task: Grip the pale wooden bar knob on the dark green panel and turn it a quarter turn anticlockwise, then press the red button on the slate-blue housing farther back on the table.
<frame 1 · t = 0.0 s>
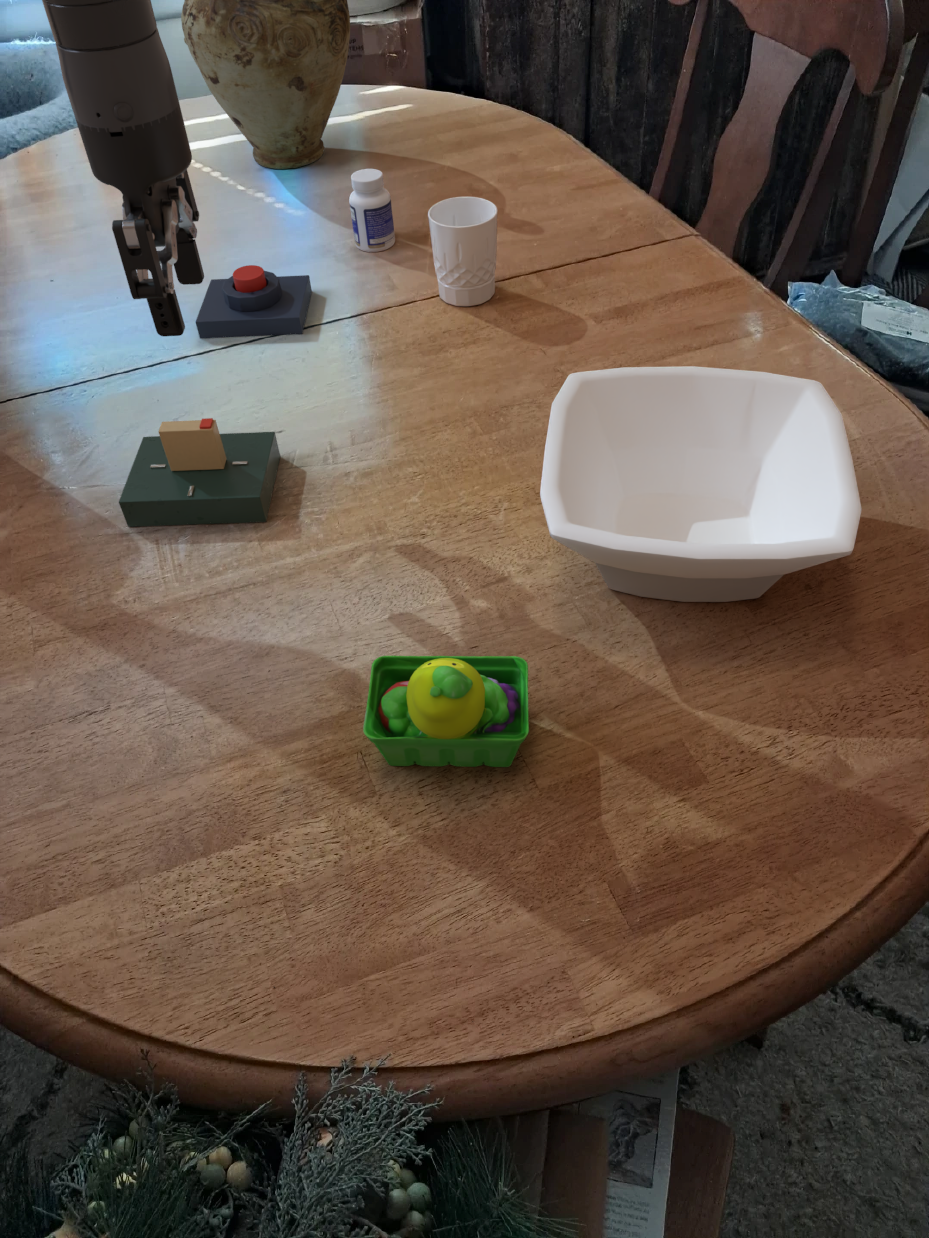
hand: (182, 307, 84), 18 cm above the table, tool pointing down, fingers open, 8 cm apart
vase: (290, 158, 151), on the table
button box: (257, 314, 118), on the table
panel: (206, 490, 95), on the table
knob: (192, 444, 91), point 5 cm above the table, hinge at 0.0°
white cup: (466, 294, 119), on the table
bowl: (681, 546, 87), on the table
pill bottle: (375, 245, 129), on the table
button: (249, 279, 115), point 4 cm above the table, slide at 0.1 cm
fruit basket: (451, 746, 73), on the table
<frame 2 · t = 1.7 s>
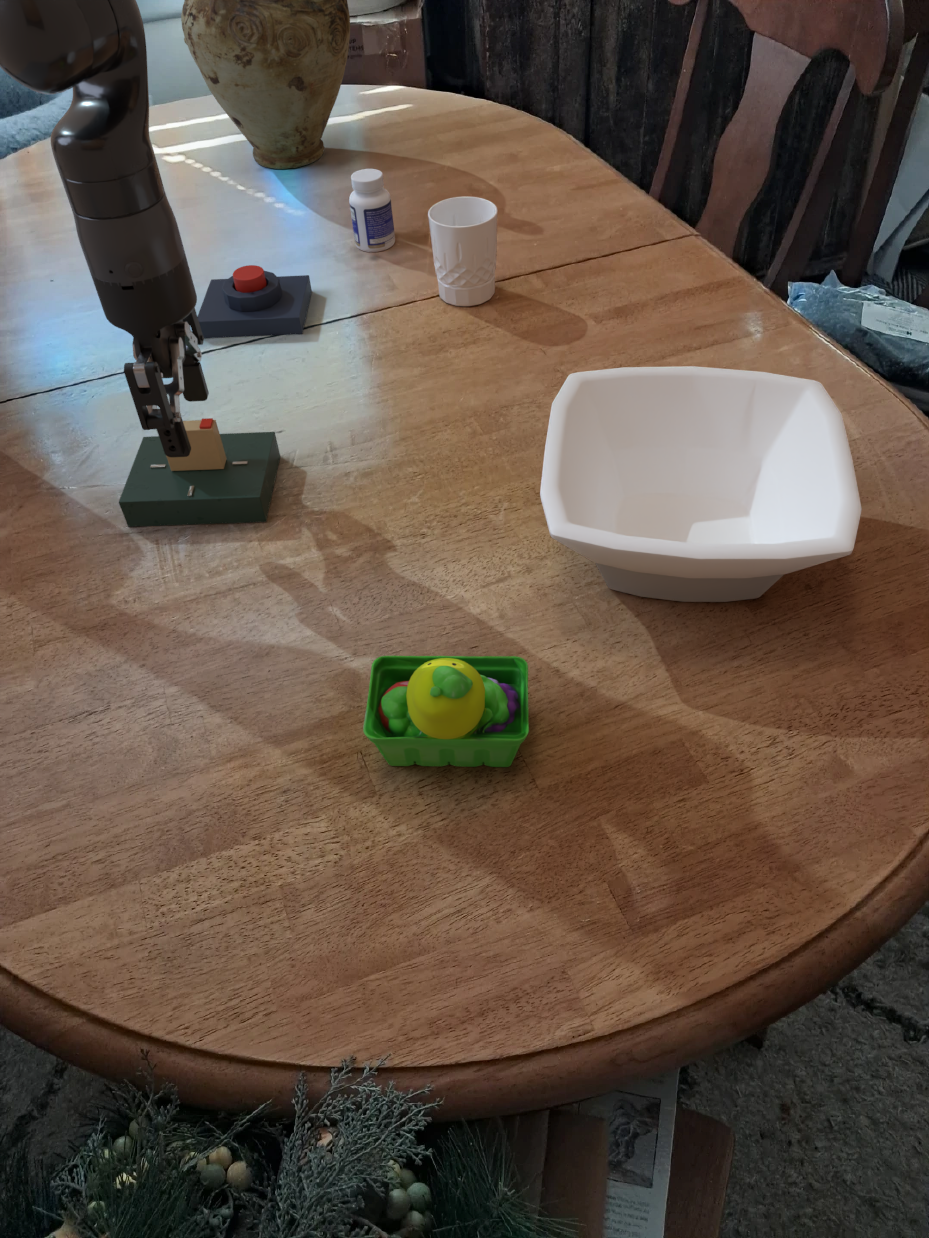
hand: (188, 426, 90), 7 cm above the table, tool pointing down, fingers open, 8 cm apart
nothing on the table moved.
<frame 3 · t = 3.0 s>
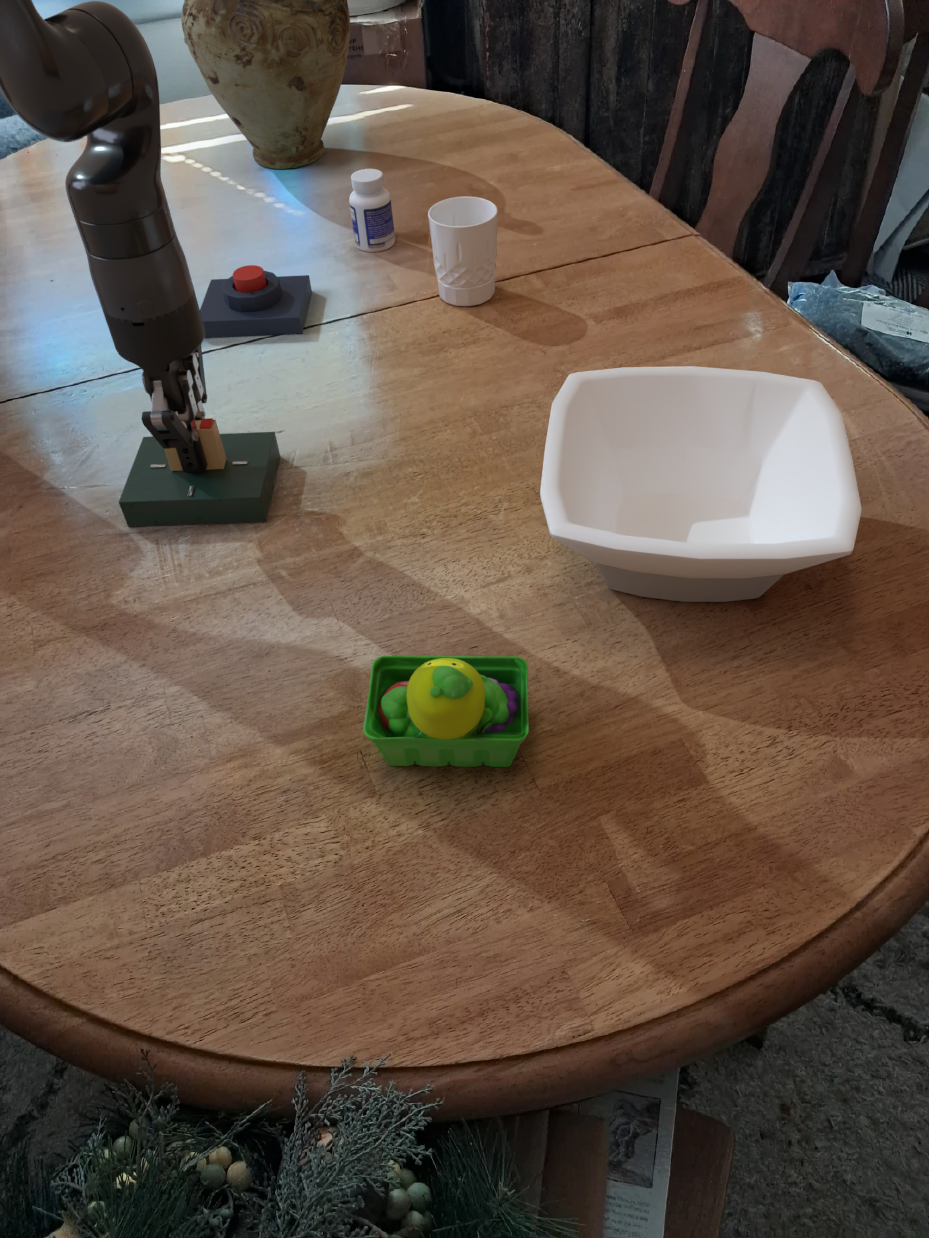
hand: (198, 462, 93), 3 cm above the table, tool pointing down, fingers closed on knob
knob: (192, 444, 91), point 5 cm above the table, hinge at 0.0°, touching gripper
everything else where it was.
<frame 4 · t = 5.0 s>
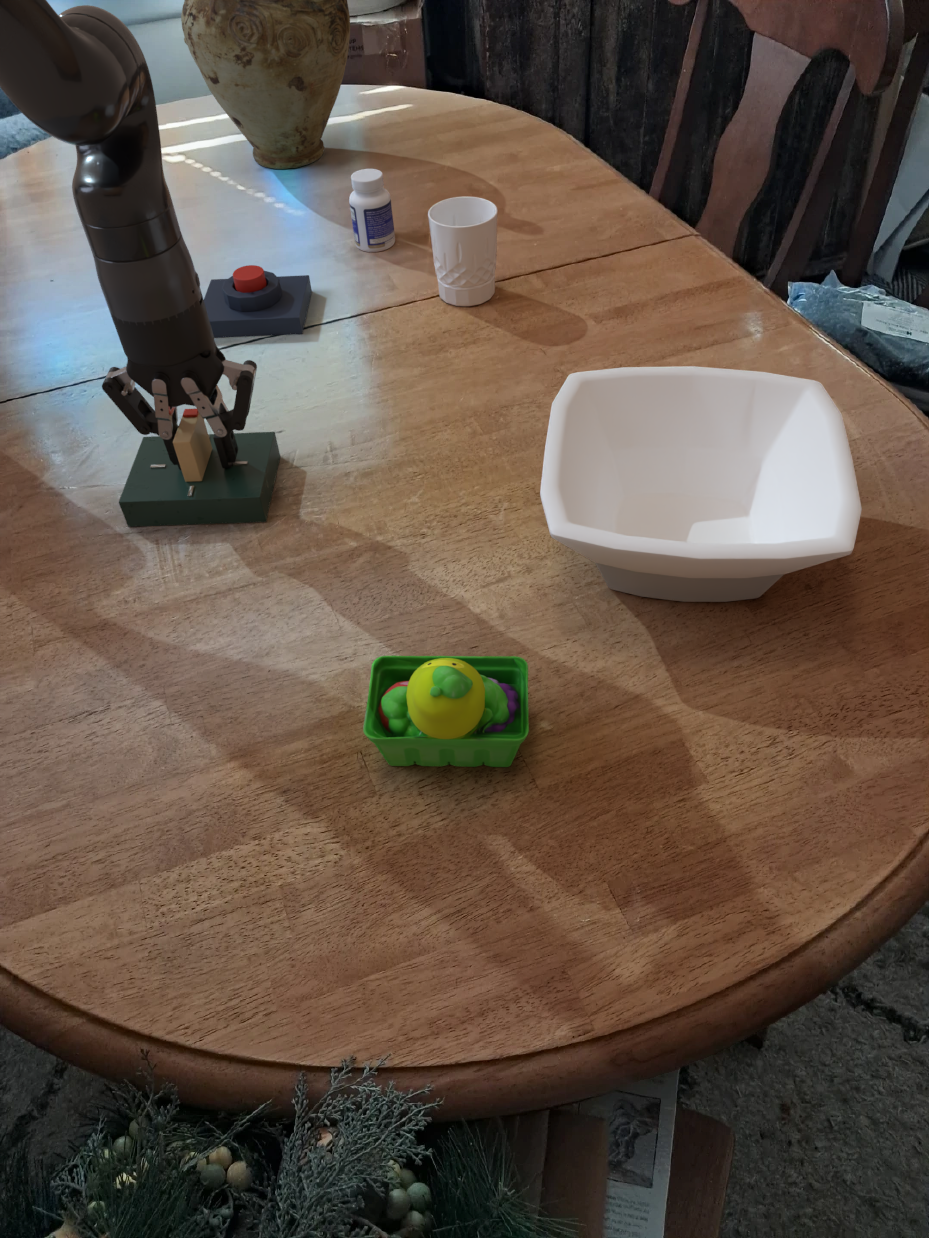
hand: (207, 463, 93), 3 cm above the table, tool pointing down, fingers open, 3 cm apart
knob: (192, 444, 91), point 5 cm above the table, hinge at 89.2°
everything else where it was.
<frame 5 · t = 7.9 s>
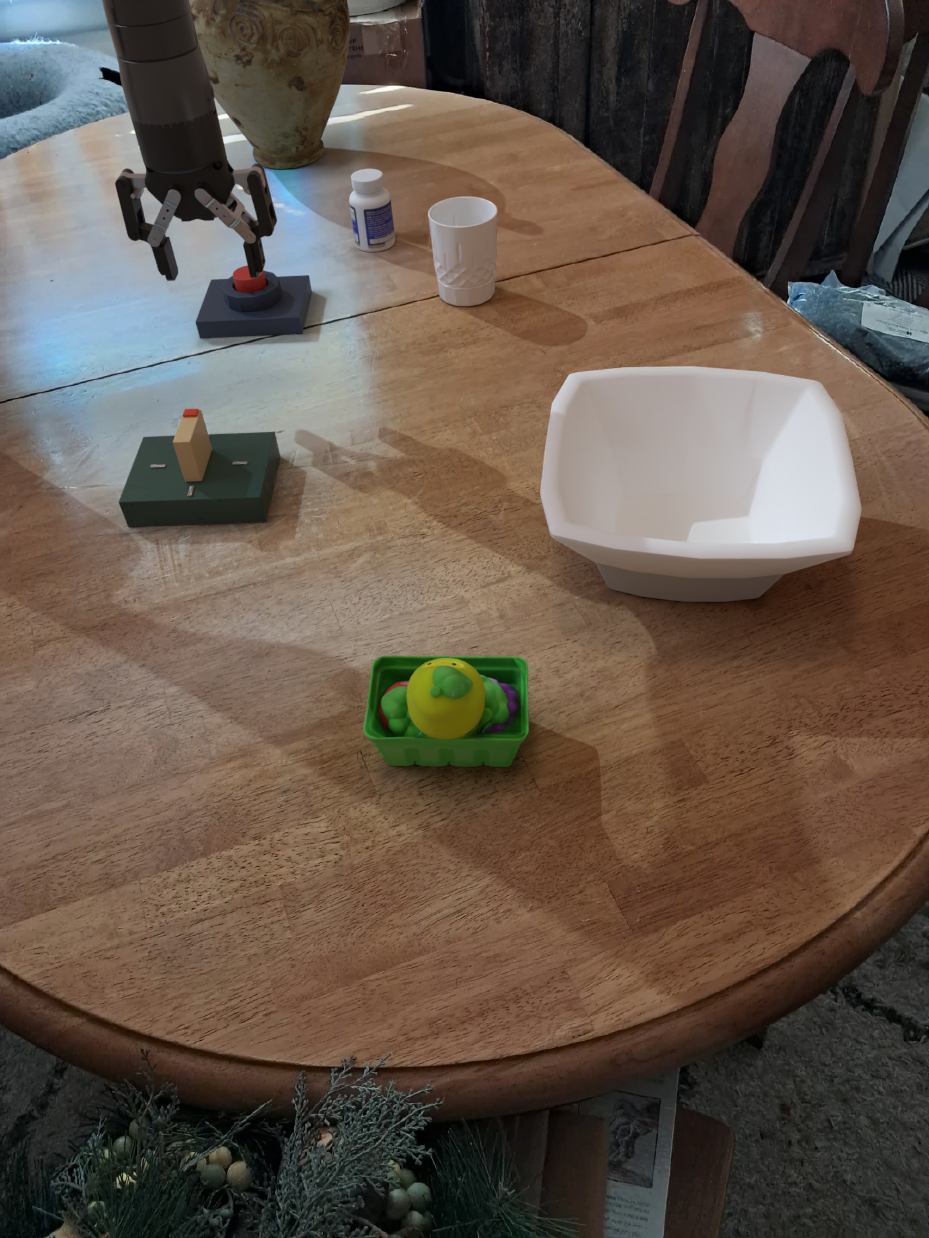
hand: (214, 276, 100), 12 cm above the table, tool pointing down, fingers open, 8 cm apart
nothing on the table moved.
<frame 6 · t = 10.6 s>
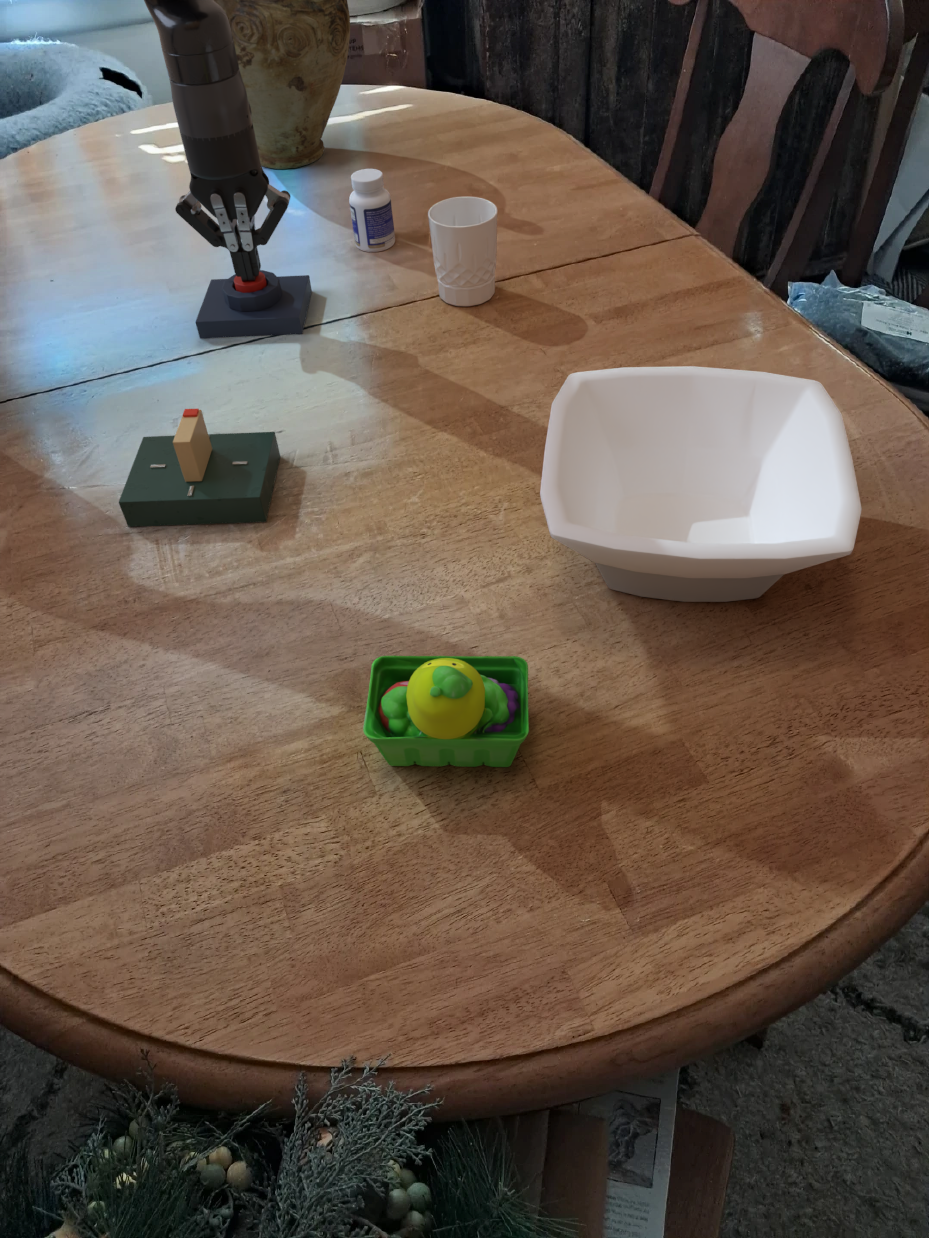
hand: (250, 278, 115), 5 cm above the table, tool pointing down, fingers closed
button: (250, 285, 115), point 4 cm above the table, slide at -0.6 cm, touching gripper
everything else where it was.
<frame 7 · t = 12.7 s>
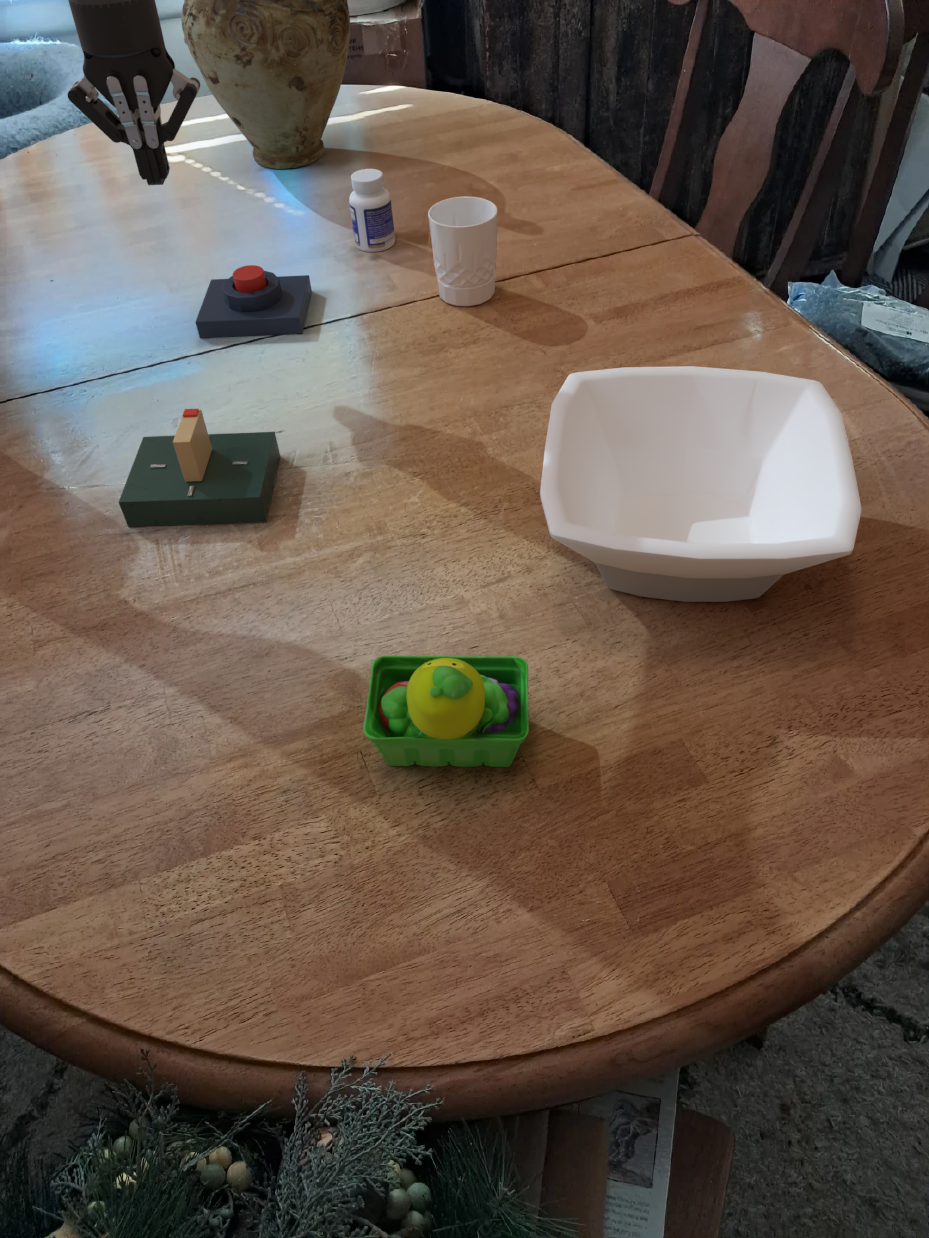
hand: (157, 182, 102), 18 cm above the table, tool pointing down, fingers closed
button: (249, 279, 115), point 4 cm above the table, slide at 0.1 cm
everything else where it was.
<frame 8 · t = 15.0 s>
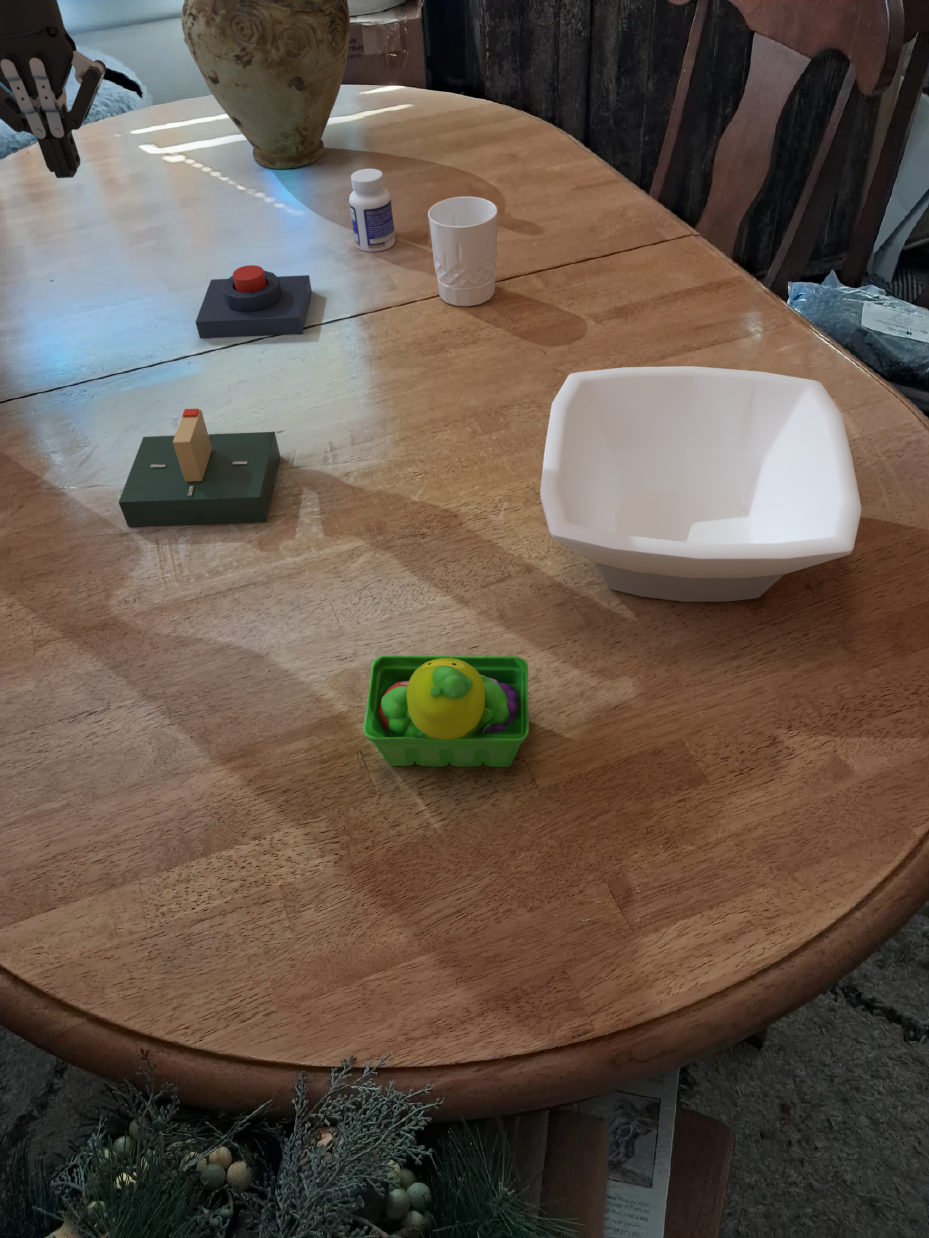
hand: (67, 174, 94), 22 cm above the table, tool pointing down, fingers closed
nothing on the table moved.
at the end: knob at +89° (first picture: +0°); button pushed in 1.1 cm at the most during the clip, back to where it started at the end; button slide at 0.1 cm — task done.
